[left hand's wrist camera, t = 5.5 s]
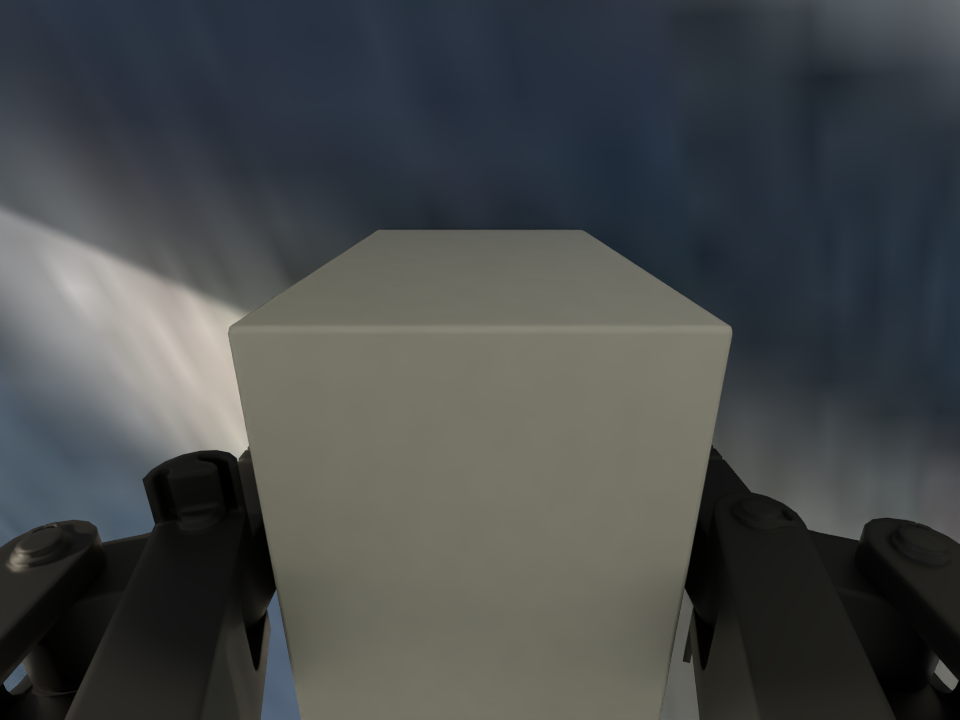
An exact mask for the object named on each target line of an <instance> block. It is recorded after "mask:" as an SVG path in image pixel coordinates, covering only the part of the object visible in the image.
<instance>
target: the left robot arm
mask: <svg viewBox="0 0 960 720" xmlns="http://www.w3.org/2000/svg"><path fill="white" fill-rule="evenodd" d="M143 483H144V486H145V490H146V493H147V497H148V500H149V504H150V507H151V511H152V515H153V518H154V522H155V526H154V528H153V530H152V532H150V533H146V534H143V535H138V536H133V537H128V538H123V539H118V540H113V541H108V542H103V543H102V542H101V539H100V536H99V533H98V530H97V527H96V526H94V525H93V524H91V523H90V522H89V521H80V520H70V521H62V522H54V523H50V524H46V525H45V526H40V527H37V528H34V529H32V530H30V531H29V532H27V533H25V534H23V535H20V536H18V537H16V538H14V539H12V540H11V541H10V542H8V543H7V544H5V545H4V546H2V547H1V548H0V720H260V719H261V710H262V701H263V692H264V684H265V675H266V666H267V657H268V648H269V639H270V630H271V628H270V622H269V616H268V611H267V607H268V605H269V603H270V601H271V599H272V597H273V595H274V593H275V590H276V584H275V579H274V574H273V568H272V563H271V558H270V552H269V547H268V542H267V537H266V531H265V526H264V521H263V515H262V510H261V505H260V499H259V494H258V489H257V484H256V478H255V473H254V468H253V462H252V457H251V452H250V447H248V450H245V452H244V453H243V454H242V455H241V457H240V458H239V461H238V462H237V458H236V457H234V456H233V455H232V454H230V453H229V452H223V451H218V450H208V451H197V452H193V453H188V454H183V455H181V456H178V457H175V458H173V459H170V460H168V461H165V462H164V463H162V464H160V465H159V466H157V467H155V468H154V469H152V470H151V471H150V472H149V473H148V474H147V475H146V476H145V477H144V479H143ZM685 589H686V591H687V593H688V595H689V598H690V600H691V602H692V604H693V611H692V616H691V621H690V626H689V631H688V636H687V641H686V646H685V651H684V657H683V661H684V662H688V663H690V659H691V655H692V656H693V665H694V673H695V682H696V691H697V700H698V709H699V718H700V720H960V544H958V543H957V542H955V541H954V540H952V539H951V538H949V537H948V536H946V535H944V534H942V533H939V532H937V531H935V530H933V529H932V528H930V527H928V526H925V525H922V524H919V523H918V524H917V523H915V522H912V521H908V520H901V519H893V518H879V519H872V520H871V521H870V522H868V523H867V524H865V526H864V529H863V532H862V534H861V537H860V540H859V541H858V540H853V539H848V538H843V537H838V536H834V535H829V534H824V533H819V532H815V531H811V530H808V529H807V527H806V525H805V523H804V522H803V521H802V519H801V518H800V517H799V515H798V514H797V513H796V512H794V511H793V510H792V509H790V508H789V507H787V506H786V505H785V504H783V503H781V502H779V501H777V500H774V499H772V498H770V497H768V496H764V495H760V494H756V493H752V492H750V490H749V489H748V488H747V487H746V485H745V484H744V483H743V482H742V481H741V479H740V478H739V477H738V476H737V475H736V473H735V472H734V471H733V470H732V468H731V467H730V466H729V465H728V464H727V462H726V461H725V460H722V456H721V455H720V454H719V453H718V451H717V450H716V449H713V445H712V444H711V450H710V455H709V460H708V466H707V471H706V476H705V481H704V487H703V492H702V497H701V503H700V508H699V513H698V519H697V524H696V529H695V534H694V540H693V545H692V550H691V556H690V561H689V566H688V572H687V577H686V582H685ZM939 659H940V660H941V661H942V662H943V663H944V664H945V665H946V667H947V668H948V669H949V670H950V671H951V672H952V673H953V675H954V676H955V677H956V678H957V679H958V680H959V681H958V683H957V686H956V688H955V689H954V690H953V691H952V690H951V689H949V688H948V687H947V686H946V685H945V684H944V683H943V682H942V681H941V680H940V678H939V677H938V676H937V675H936V674H935V672H934V670H935V668H936V666H937V664H938V662H939ZM21 662H22V663H23V665H24V667H25V669H26V671H27V675H26V676H25V677H24V678H23V680H22V681H21V682H20V683H19V684H18V685H17V686H16V687H15V688H14V689H13V690H11V691H10V692H8V691H7V690H6V688H5V686H4V684H3V683H4V681H5V680H6V679H7V678H8V677H9V676H10V675H11V673H12V672H13V671H14V670H15V669H16V668H17V667H18V665H19V664H20V663H21Z"/></svg>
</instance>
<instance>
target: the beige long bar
mask: <svg viewBox="0 0 960 720" xmlns="http://www.w3.org/2000/svg"><path fill="white" fill-rule="evenodd" d="M228 336H229V341H230V346H231V351H232V357H233V362H234V367H235V373H236V378H237V383H238V388H239V394H240V399H241V404H242V410H243V415H244V420H245V425H246V431H247V436H248V441H249V447H250V452H251V457H252V462H253V468H254V473H255V478H256V484H257V489H258V494H259V499H260V505H261V510H262V515H263V521H264V526H265V531H266V537H267V542H268V547H269V552H270V558H271V563H272V568H273V574H274V579H275V584H276V589H277V595H278V600H279V605H280V611H281V616H282V621H283V626H284V632H285V637H286V642H287V648H288V653H289V658H290V663H291V669H292V674H293V679H294V685H295V690H296V695H297V701H298V706H299V711H300V716H301V720H660V715H661V709H662V704H663V699H664V693H665V688H666V683H667V677H668V672H669V667H670V662H671V656H672V651H673V646H674V640H675V635H676V630H677V625H678V619H679V614H680V609H681V603H682V598H683V593H684V587H685V582H686V577H687V572H688V566H689V561H690V556H691V550H692V545H693V540H694V534H695V529H696V524H697V519H698V513H699V508H700V503H701V497H702V492H703V487H704V481H705V476H706V471H707V466H708V460H709V455H710V450H711V444H712V439H713V434H714V429H715V423H716V418H717V413H718V407H719V402H720V397H721V391H722V386H723V381H724V376H725V370H726V365H727V360H728V354H729V349H730V344H731V338H732V328H731V326H729V325H728V324H726V323H725V322H723V321H722V320H720V319H718V318H717V317H715V316H714V315H712V314H711V313H709V312H708V311H706V310H705V309H703V308H702V307H700V306H698V305H697V304H695V303H694V302H692V301H691V300H689V299H688V298H686V297H685V296H683V295H682V294H680V293H679V292H677V291H675V290H674V289H672V288H671V287H669V286H668V285H666V284H665V283H663V282H662V281H660V280H659V279H657V278H656V277H654V276H652V275H651V274H649V273H648V272H646V271H645V270H643V269H642V268H640V267H639V266H637V265H636V264H634V263H633V262H631V261H629V260H628V259H626V258H625V257H623V256H622V255H620V254H619V253H617V252H616V251H614V250H613V249H611V248H609V247H608V246H606V245H605V244H603V243H602V242H600V241H599V240H597V239H596V238H594V237H593V236H591V235H590V234H588V233H586V232H585V231H583V230H377V231H376V232H374V233H373V234H371V235H370V236H368V237H366V238H365V239H363V240H362V241H360V242H359V243H357V244H356V245H354V246H353V247H351V248H350V249H348V250H347V251H345V252H343V253H342V254H340V255H339V256H337V257H336V258H334V259H333V260H331V261H330V262H328V263H327V264H325V265H324V266H322V267H320V268H319V269H317V270H316V271H314V272H313V273H311V274H310V275H308V276H307V277H305V278H304V279H302V280H301V281H299V282H297V283H296V284H294V285H293V286H291V287H290V288H288V289H287V290H285V291H284V292H282V293H281V294H279V295H278V296H276V297H274V298H273V299H271V300H270V301H268V302H267V303H265V304H264V305H262V306H261V307H259V308H258V309H256V310H255V311H253V312H251V313H250V314H248V315H247V316H245V317H244V318H242V319H241V320H239V321H238V322H236V323H235V324H233V325H232V326H230V327H229V332H228Z"/></svg>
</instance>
